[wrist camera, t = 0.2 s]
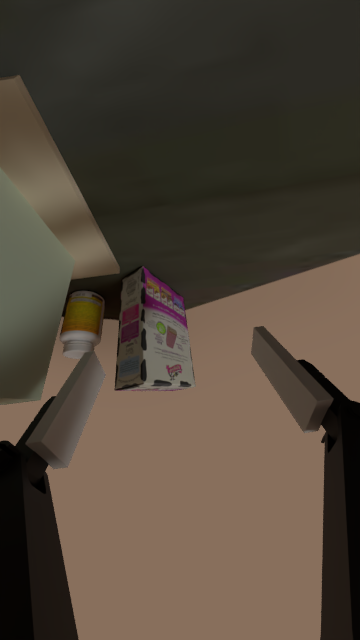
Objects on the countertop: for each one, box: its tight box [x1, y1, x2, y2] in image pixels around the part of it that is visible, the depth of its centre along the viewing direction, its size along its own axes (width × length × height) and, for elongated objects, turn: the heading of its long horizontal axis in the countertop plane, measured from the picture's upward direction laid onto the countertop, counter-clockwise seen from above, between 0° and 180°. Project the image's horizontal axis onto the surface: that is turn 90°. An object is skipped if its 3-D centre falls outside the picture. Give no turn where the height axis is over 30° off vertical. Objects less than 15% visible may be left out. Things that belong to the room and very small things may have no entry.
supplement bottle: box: [60, 290, 105, 359], centre depth 27 cm, size 6×6×10 cm
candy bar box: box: [115, 266, 196, 391], centre depth 26 cm, size 11×5×16 cm, turn 35°
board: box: [0, 75, 120, 280], centre depth 17 cm, size 16×18×1 cm
